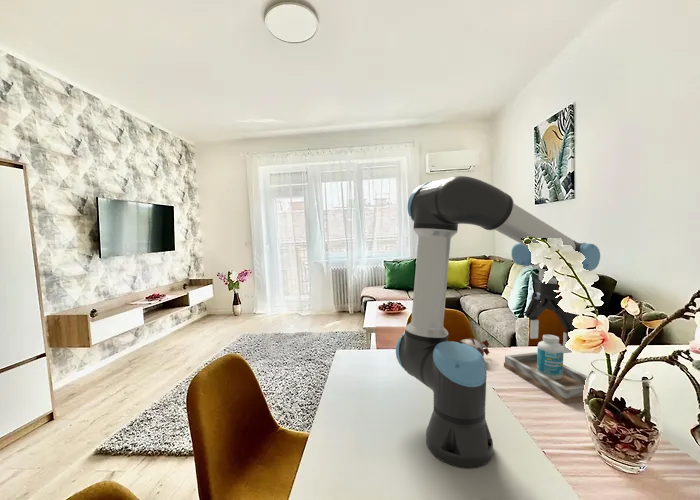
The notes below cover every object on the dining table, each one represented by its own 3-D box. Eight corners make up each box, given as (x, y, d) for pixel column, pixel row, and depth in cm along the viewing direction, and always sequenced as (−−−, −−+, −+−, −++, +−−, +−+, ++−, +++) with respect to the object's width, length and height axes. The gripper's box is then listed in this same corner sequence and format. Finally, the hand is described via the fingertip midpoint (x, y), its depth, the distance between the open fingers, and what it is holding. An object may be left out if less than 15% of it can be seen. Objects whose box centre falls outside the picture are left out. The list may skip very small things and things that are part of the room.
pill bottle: (544, 381, 105) (545, 340, 104) (532, 371, 113) (533, 333, 112) (567, 381, 105) (569, 340, 104) (553, 370, 113) (555, 332, 112)
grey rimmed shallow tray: (605, 396, 98) (605, 384, 98) (563, 403, 95) (564, 390, 94) (538, 362, 123) (538, 352, 123) (503, 366, 120) (503, 356, 120)
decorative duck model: (468, 353, 117) (439, 339, 130) (469, 373, 118) (440, 357, 131) (496, 342, 123) (466, 330, 137) (497, 360, 125) (466, 347, 138)
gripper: (597, 287, 95) (594, 358, 97) (532, 276, 120) (530, 332, 121) (576, 288, 94) (573, 360, 95) (515, 276, 118) (513, 333, 119)
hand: (549, 344), depth 108 cm, fingers open, 13 cm apart
